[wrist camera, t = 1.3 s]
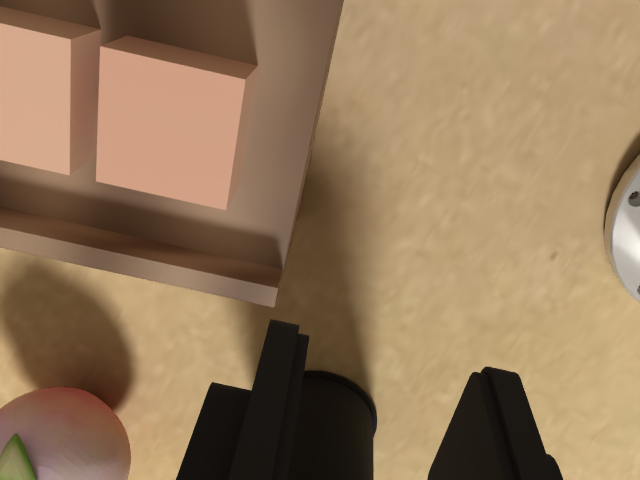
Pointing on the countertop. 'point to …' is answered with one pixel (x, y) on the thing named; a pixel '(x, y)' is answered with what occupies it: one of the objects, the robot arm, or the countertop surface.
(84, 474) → the decorative fruit
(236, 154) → the tile
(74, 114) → the tile
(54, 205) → the brown wooden box
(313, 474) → the aerosol can
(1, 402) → the countertop surface
